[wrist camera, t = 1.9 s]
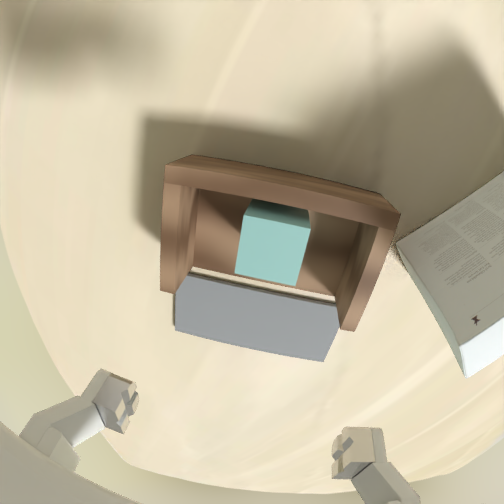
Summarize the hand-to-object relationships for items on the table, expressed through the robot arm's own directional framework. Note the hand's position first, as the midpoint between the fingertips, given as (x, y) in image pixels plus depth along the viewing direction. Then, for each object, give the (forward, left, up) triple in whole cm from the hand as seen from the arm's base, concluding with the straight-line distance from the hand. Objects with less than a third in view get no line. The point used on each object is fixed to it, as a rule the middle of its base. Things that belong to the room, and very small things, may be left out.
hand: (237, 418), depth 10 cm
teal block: (0, 0, -21) cm, 21 cm away
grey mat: (+13, 0, -22) cm, 26 cm away
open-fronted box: (+1, 0, -22) cm, 22 cm away
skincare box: (-6, +22, -23) cm, 32 cm away
